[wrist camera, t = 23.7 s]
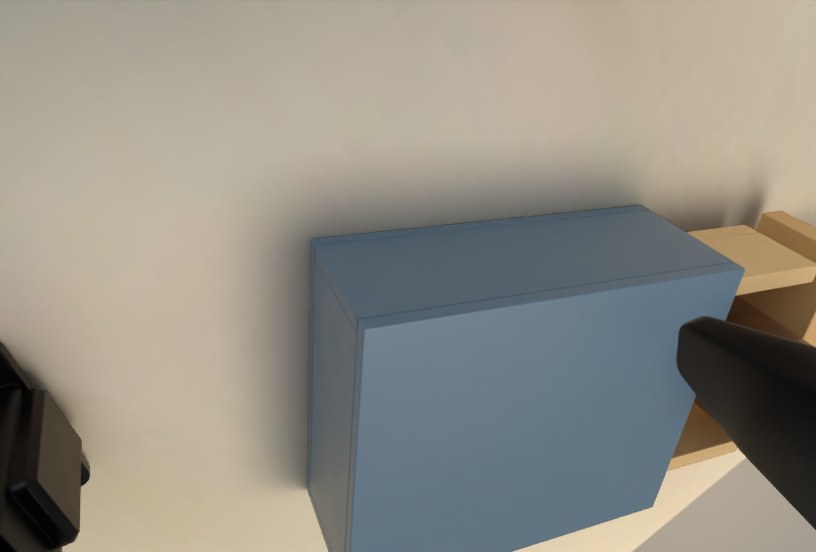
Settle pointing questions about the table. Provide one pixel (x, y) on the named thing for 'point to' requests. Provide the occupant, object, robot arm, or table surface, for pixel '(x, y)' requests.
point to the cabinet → (499, 376)
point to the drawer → (758, 303)
